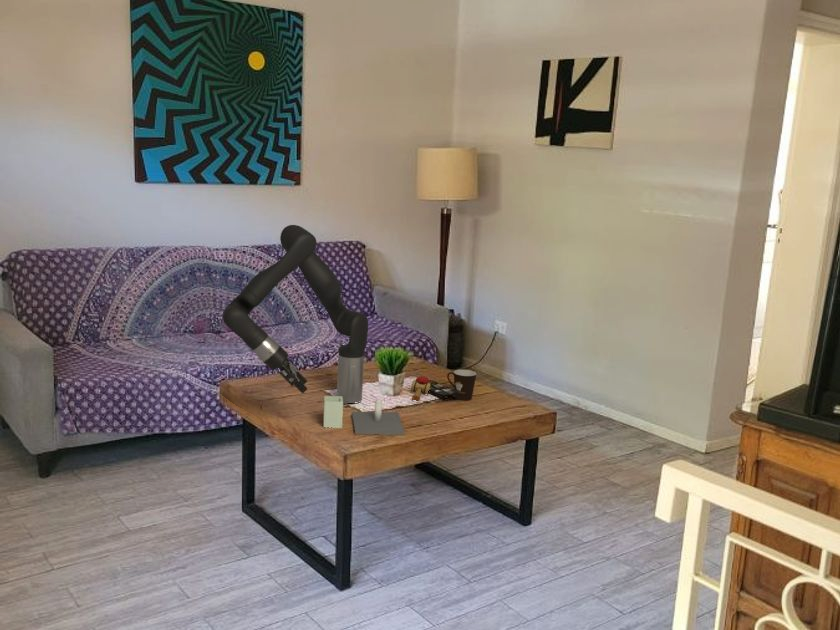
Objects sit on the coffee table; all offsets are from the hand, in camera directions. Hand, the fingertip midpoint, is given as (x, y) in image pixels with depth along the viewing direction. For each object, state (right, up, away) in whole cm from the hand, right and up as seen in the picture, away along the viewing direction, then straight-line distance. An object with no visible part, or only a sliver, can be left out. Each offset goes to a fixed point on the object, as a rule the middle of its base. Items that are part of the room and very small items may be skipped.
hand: (305, 387), depth 262 cm
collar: (+9, -13, +4) cm, 16 cm away
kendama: (+38, -7, +42) cm, 56 cm away
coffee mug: (+53, -8, +43) cm, 69 cm away
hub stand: (+23, -13, +6) cm, 28 cm away
